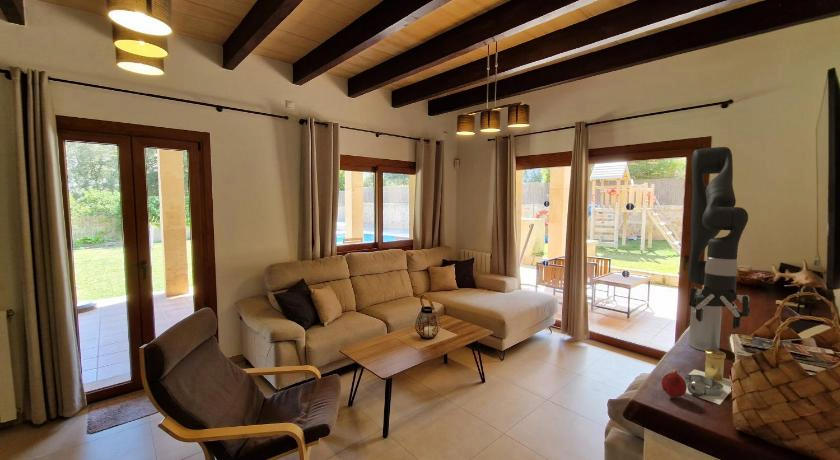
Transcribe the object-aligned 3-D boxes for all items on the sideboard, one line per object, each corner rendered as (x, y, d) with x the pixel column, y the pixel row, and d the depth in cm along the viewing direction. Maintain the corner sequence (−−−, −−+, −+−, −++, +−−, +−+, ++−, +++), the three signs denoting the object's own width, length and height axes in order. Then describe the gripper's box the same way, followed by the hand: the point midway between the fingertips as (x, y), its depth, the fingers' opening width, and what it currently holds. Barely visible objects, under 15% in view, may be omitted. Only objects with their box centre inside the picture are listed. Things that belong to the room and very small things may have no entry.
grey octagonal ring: (689, 378, 112) (690, 367, 112) (725, 389, 106) (726, 377, 105) (676, 389, 105) (677, 377, 105) (714, 402, 99) (714, 389, 98)
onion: (686, 405, 99) (688, 377, 98) (661, 399, 102) (662, 371, 101) (684, 396, 104) (686, 369, 103) (660, 390, 107) (662, 364, 106)
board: (694, 372, 119) (694, 369, 119) (738, 385, 110) (738, 382, 110) (672, 391, 106) (672, 387, 106) (719, 408, 98) (719, 404, 98)
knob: (706, 372, 117) (707, 347, 116) (726, 378, 113) (727, 352, 112) (701, 376, 114) (702, 351, 113) (721, 382, 110) (723, 357, 109)
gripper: (754, 275, 108) (750, 328, 109) (696, 268, 119) (693, 316, 120) (748, 277, 103) (744, 334, 104) (688, 270, 114) (685, 321, 115)
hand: (716, 324), depth 112 cm, fingers open, 8 cm apart
